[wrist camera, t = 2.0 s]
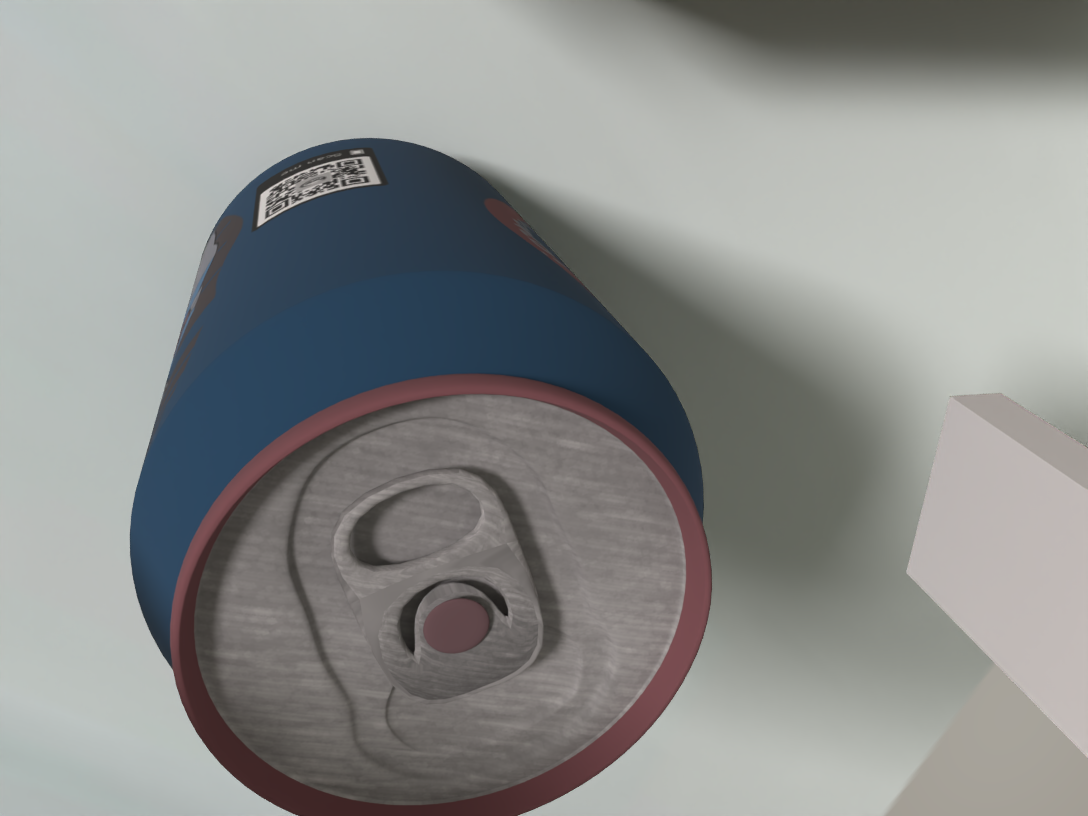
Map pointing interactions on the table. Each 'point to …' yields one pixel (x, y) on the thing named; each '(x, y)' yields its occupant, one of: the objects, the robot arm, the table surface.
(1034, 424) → the robot arm
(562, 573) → the soda can
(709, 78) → the table surface
